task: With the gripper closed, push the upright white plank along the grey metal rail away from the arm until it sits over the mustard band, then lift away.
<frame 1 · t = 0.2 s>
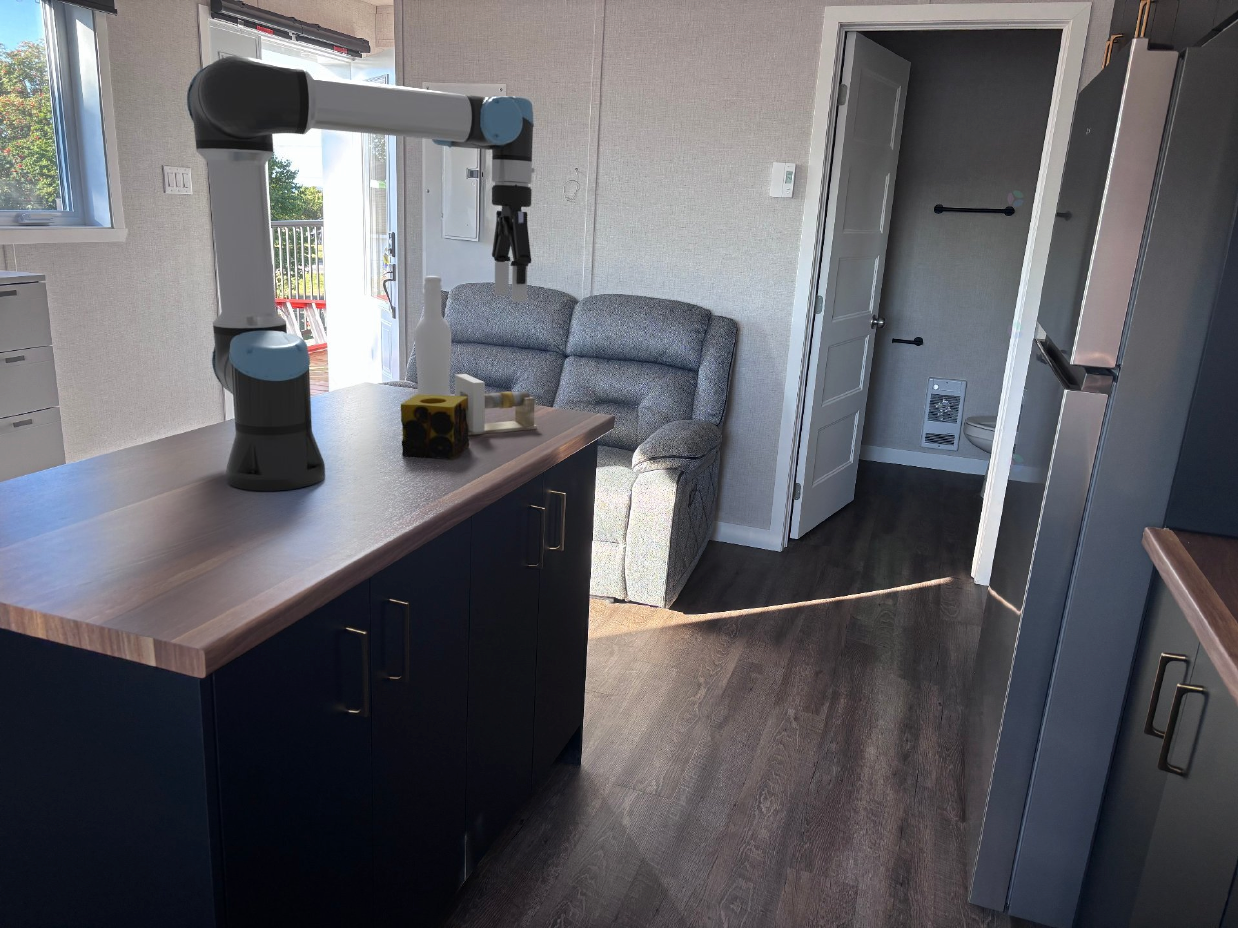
hand: (510, 298, 180), 28 cm above the table, fingers open, 13 cm apart
upright white plank: (469, 402, 187), point 6 cm above the table, slide at 0.0 cm
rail: (489, 429, 191), on the table
bottle: (433, 414, 203), on the table
yellow cube with hole: (436, 453, 172), on the table
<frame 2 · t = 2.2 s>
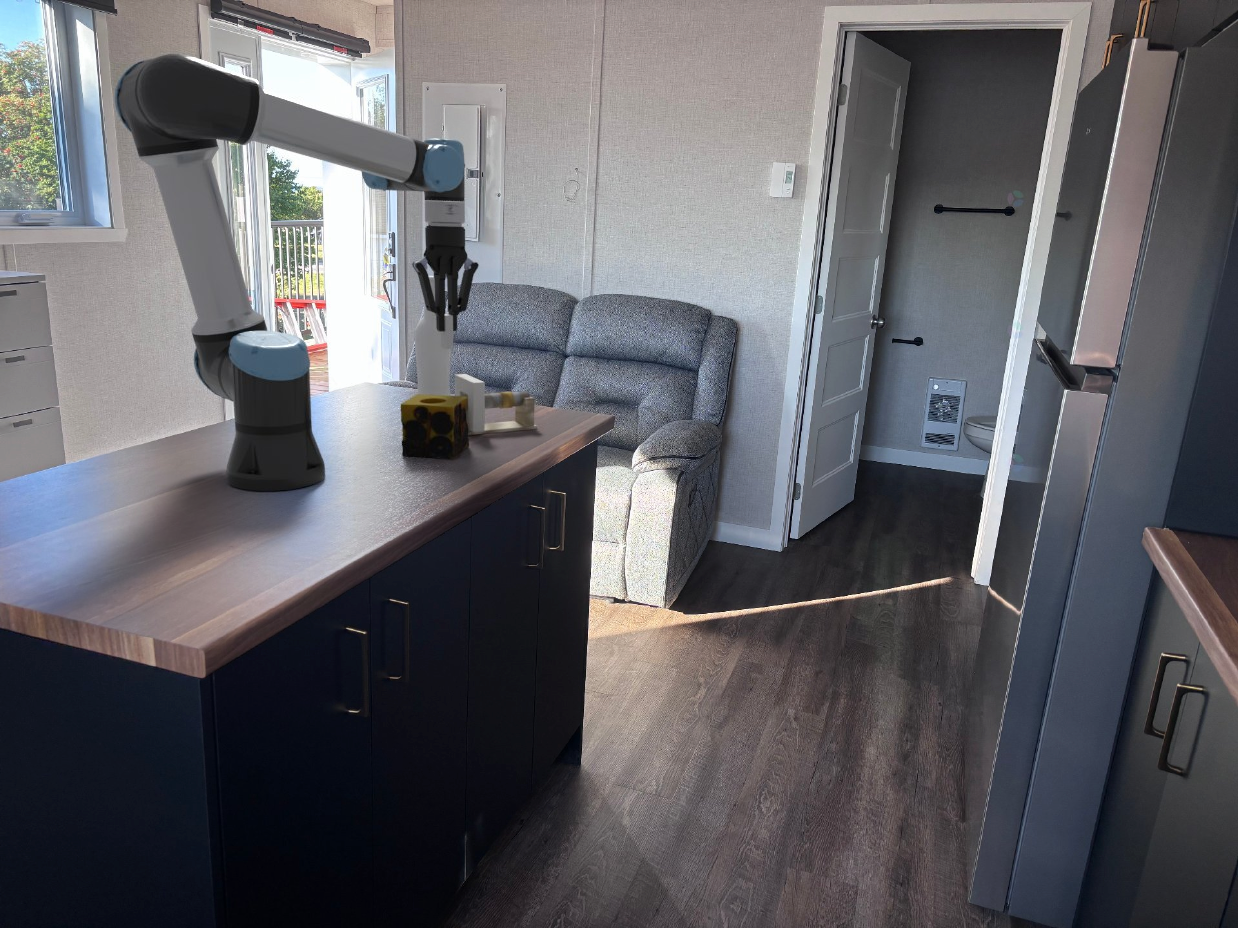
hand: (447, 347, 182), 17 cm above the table, fingers closed
nothing on the table moved.
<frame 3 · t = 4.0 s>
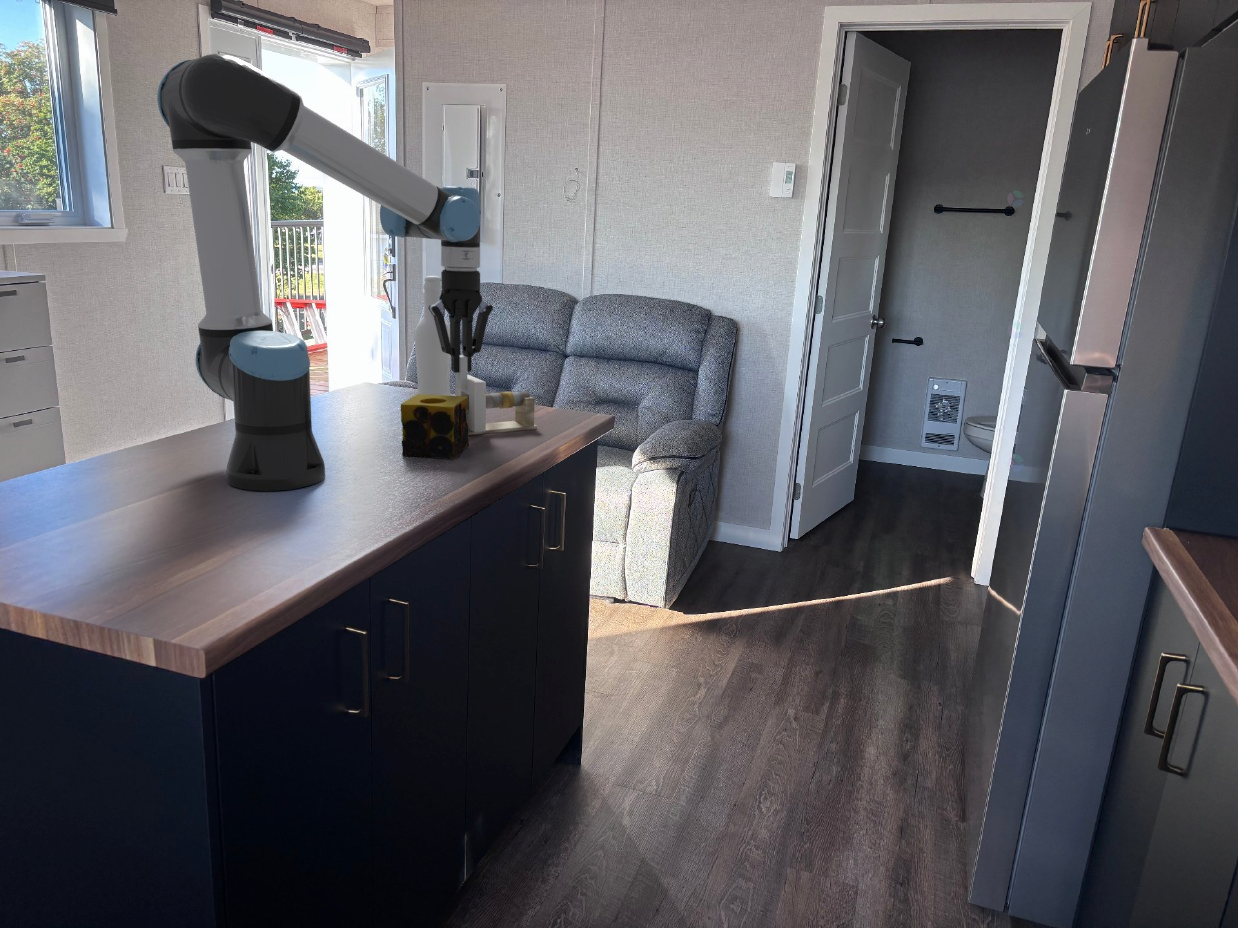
hand: (461, 388, 186), 9 cm above the table, fingers closed
upright white plank: (470, 402, 187), point 6 cm above the table, slide at 0.2 cm, touching gripper
everything else where it was.
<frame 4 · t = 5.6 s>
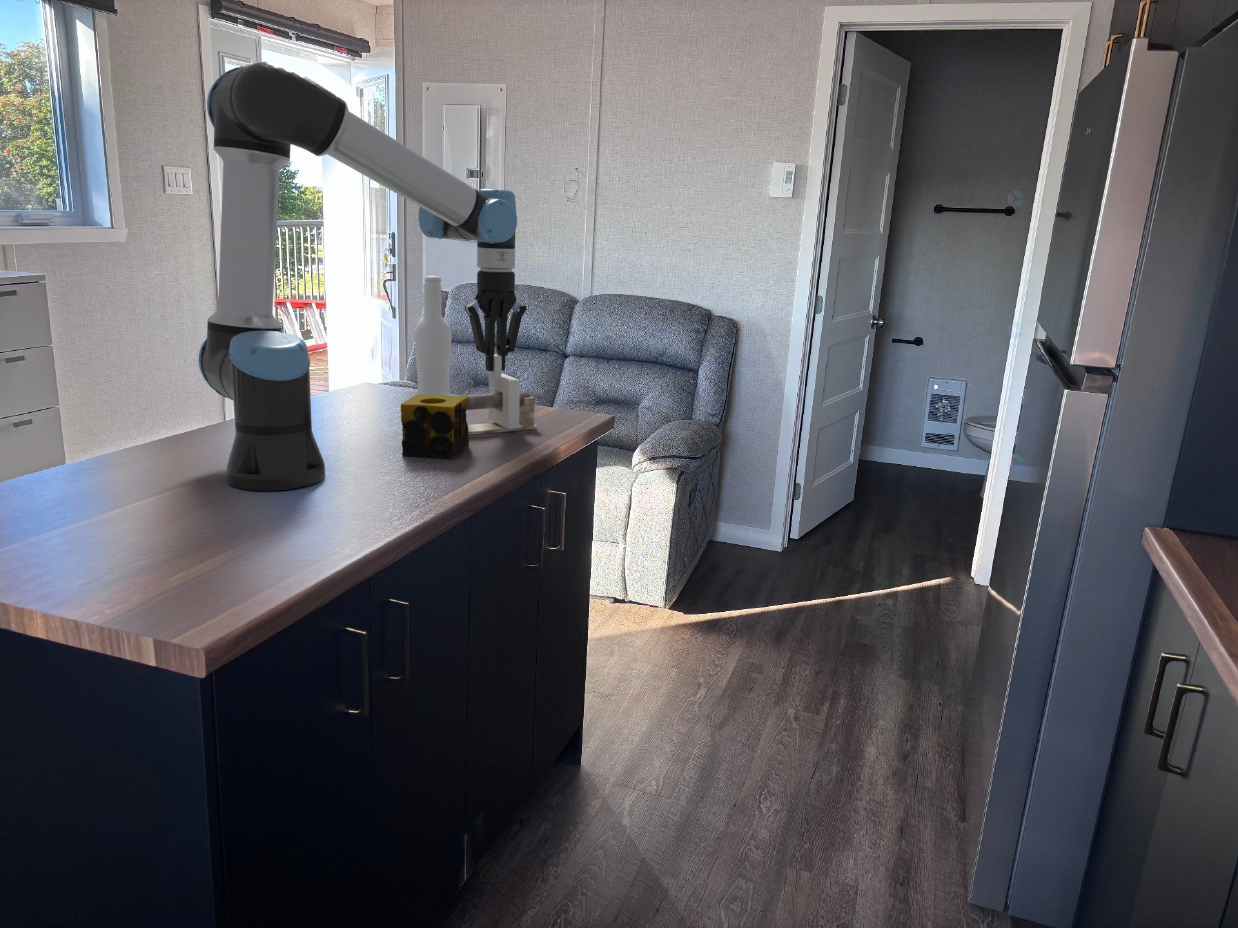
hand: (495, 386, 189), 9 cm above the table, fingers closed
upright white plank: (503, 400, 191), point 6 cm above the table, slide at 7.6 cm, touching gripper
everything else where it was.
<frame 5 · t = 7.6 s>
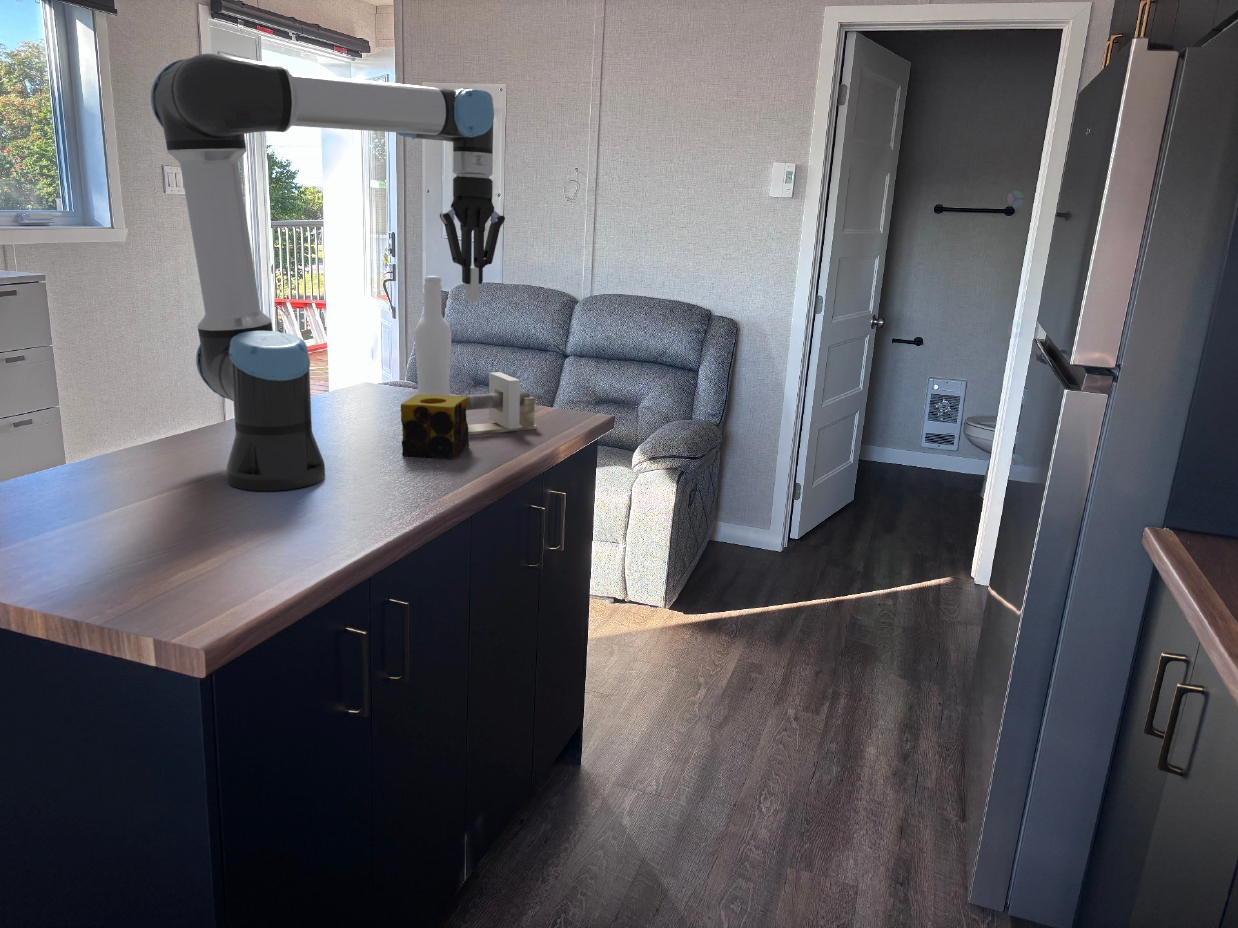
hand: (472, 300, 182), 27 cm above the table, fingers closed
upright white plank: (504, 400, 191), point 6 cm above the table, slide at 7.7 cm
everything else where it was.
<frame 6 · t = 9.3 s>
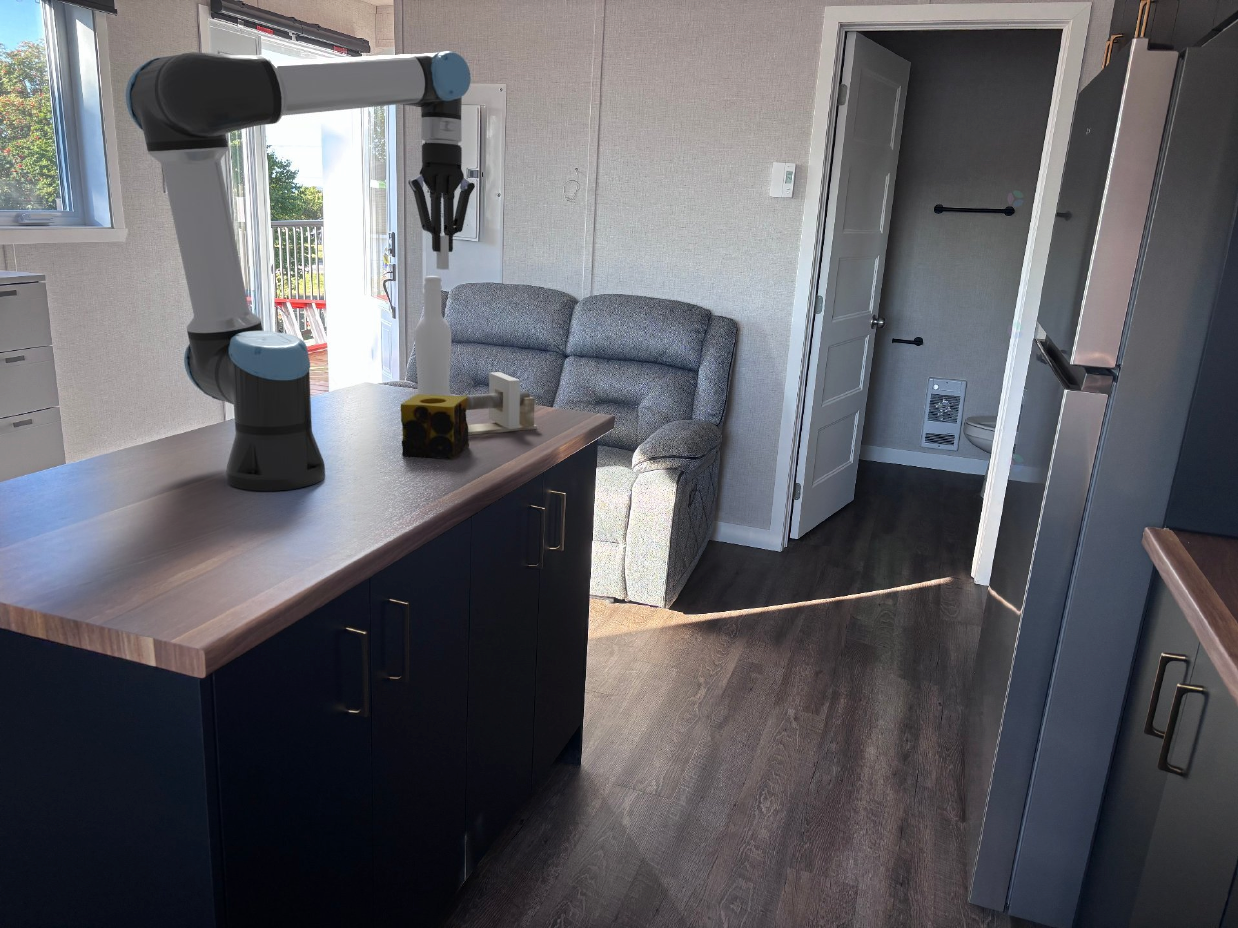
hand: (442, 269, 182), 32 cm above the table, fingers closed
nothing on the table moved.
at the end: upright white plank slide at 7.7 cm; the gripper is holding nothing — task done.
